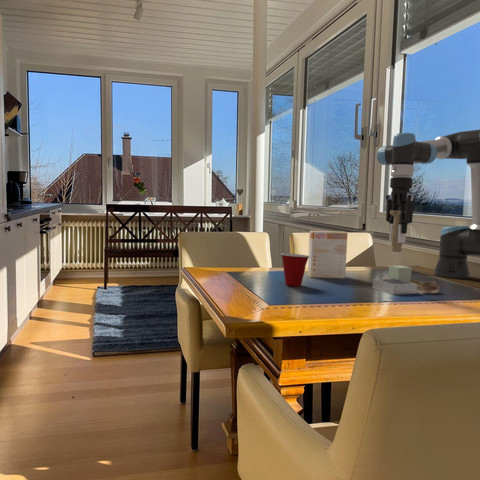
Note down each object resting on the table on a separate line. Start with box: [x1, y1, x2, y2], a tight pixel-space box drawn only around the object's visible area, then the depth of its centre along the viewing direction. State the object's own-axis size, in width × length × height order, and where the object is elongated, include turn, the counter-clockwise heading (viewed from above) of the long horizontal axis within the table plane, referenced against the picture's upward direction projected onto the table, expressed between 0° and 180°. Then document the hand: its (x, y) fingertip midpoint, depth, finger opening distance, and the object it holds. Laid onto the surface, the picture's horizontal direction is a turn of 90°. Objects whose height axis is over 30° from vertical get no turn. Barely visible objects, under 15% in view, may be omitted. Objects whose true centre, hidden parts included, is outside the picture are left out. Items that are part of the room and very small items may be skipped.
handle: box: [390, 210, 405, 253], centre depth 163 cm, size 5×6×15 cm
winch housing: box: [372, 278, 418, 296], centre depth 164 cm, size 10×12×4 cm
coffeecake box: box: [307, 230, 348, 279], centre depth 191 cm, size 15×7×20 cm, turn 92°
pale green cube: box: [387, 265, 413, 282], centre depth 178 cm, size 6×6×6 cm
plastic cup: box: [280, 252, 310, 287], centre depth 168 cm, size 11×11×12 cm
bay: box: [382, 276, 440, 294], centre depth 173 cm, size 8×22×4 cm, turn 19°
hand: (397, 241), depth 163 cm, fingers closed on handle, 4 cm apart
